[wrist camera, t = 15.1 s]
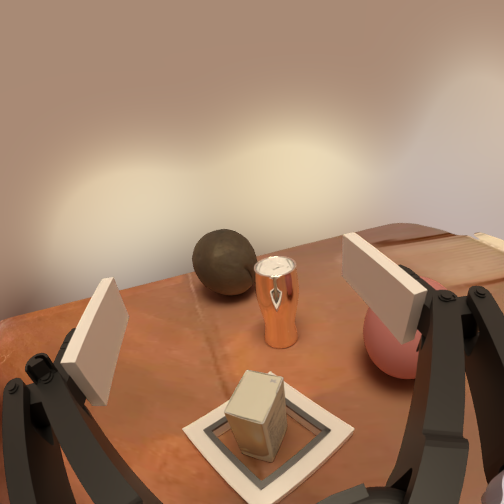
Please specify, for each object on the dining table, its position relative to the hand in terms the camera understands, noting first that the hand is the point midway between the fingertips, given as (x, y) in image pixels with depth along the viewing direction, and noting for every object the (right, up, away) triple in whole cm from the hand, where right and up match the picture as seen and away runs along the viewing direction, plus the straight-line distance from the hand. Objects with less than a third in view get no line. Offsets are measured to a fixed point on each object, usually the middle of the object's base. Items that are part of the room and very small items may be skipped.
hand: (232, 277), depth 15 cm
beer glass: (+6, -14, +34) cm, 38 cm away
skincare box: (+3, -24, +15) cm, 28 cm away
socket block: (+3, -23, +15) cm, 28 cm away
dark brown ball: (-4, -8, +51) cm, 51 cm away
